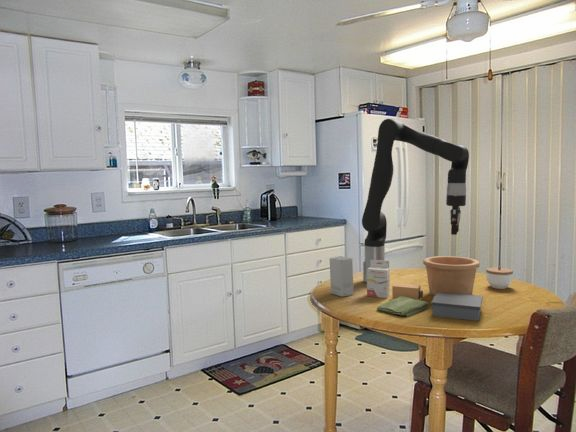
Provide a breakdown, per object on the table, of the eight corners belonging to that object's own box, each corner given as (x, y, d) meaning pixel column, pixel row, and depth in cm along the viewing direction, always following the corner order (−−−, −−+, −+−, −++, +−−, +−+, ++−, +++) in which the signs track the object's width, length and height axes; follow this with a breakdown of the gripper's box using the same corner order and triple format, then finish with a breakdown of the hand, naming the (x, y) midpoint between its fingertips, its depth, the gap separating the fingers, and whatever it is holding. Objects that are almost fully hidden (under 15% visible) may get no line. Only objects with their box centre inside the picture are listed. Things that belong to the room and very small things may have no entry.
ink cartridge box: (366, 296, 189) (366, 261, 188) (369, 293, 193) (369, 259, 192) (387, 298, 185) (387, 262, 184) (389, 295, 190) (390, 260, 189)
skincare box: (353, 295, 191) (353, 258, 190) (341, 297, 188) (341, 260, 187) (341, 291, 198) (341, 255, 197) (329, 293, 195) (329, 257, 194)
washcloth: (374, 311, 169) (374, 303, 169) (401, 302, 181) (401, 294, 180) (405, 319, 159) (405, 310, 159) (431, 309, 171) (431, 300, 171)
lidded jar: (486, 289, 198) (486, 267, 197) (485, 283, 207) (485, 263, 207) (513, 291, 194) (514, 269, 193) (511, 285, 203) (512, 264, 203)
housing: (392, 300, 182) (392, 286, 182) (395, 297, 187) (395, 283, 187) (421, 303, 177) (421, 288, 177) (423, 300, 182) (423, 285, 182)
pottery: (484, 302, 177) (485, 266, 175) (425, 300, 181) (425, 265, 180) (473, 289, 198) (474, 256, 197) (420, 287, 202) (421, 255, 201)
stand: (430, 316, 161) (431, 302, 161) (437, 304, 175) (437, 291, 175) (480, 321, 154) (480, 307, 154) (482, 308, 169) (482, 295, 168)
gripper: (448, 193, 196) (446, 230, 197) (444, 194, 183) (443, 234, 184) (466, 193, 193) (465, 231, 194) (465, 195, 180) (463, 236, 181)
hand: (454, 233), depth 189 cm, fingers open, 8 cm apart
